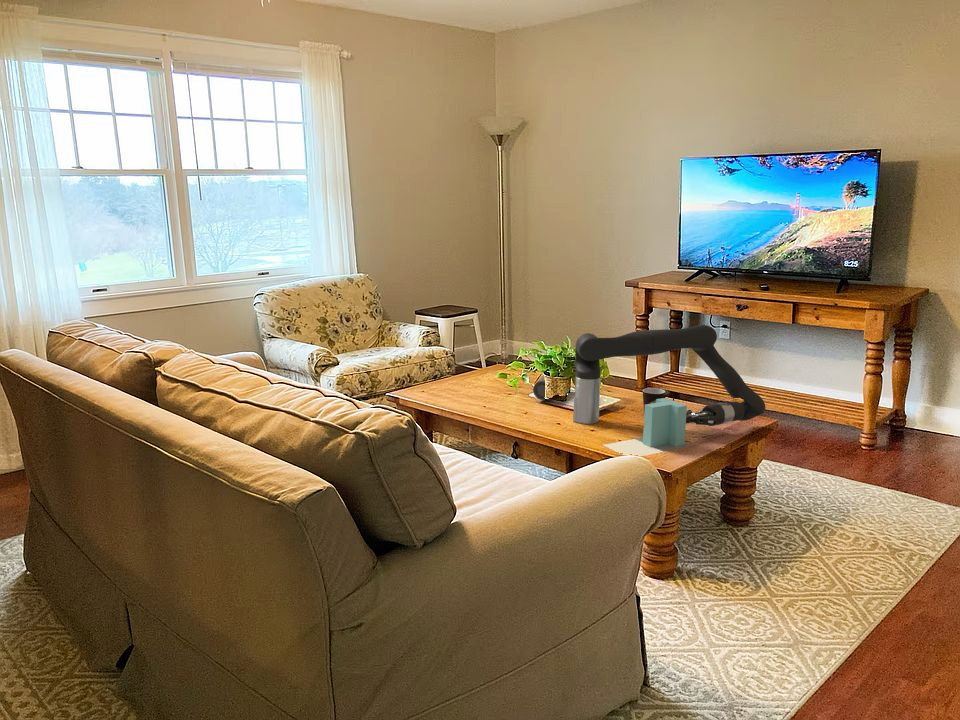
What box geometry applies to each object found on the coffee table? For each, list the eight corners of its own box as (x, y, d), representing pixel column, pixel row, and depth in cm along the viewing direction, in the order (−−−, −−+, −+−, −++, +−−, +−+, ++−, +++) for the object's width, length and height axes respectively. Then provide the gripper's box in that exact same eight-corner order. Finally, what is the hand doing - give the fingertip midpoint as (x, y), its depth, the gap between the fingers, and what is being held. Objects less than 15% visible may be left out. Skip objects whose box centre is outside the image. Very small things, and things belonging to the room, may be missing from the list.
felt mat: (660, 436, 282) (661, 433, 282) (690, 448, 269) (690, 446, 269) (602, 447, 270) (602, 444, 270) (630, 460, 257) (630, 458, 257)
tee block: (662, 435, 280) (665, 397, 277) (684, 444, 270) (686, 405, 267) (636, 440, 274) (638, 402, 271) (657, 450, 265) (659, 410, 262)
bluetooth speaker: (553, 404, 321) (553, 380, 319) (531, 402, 325) (532, 378, 323) (569, 391, 342) (569, 368, 340) (548, 388, 345) (549, 366, 343)
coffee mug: (638, 416, 305) (639, 392, 303) (644, 411, 312) (646, 386, 310) (668, 421, 300) (669, 395, 297) (674, 415, 307) (675, 390, 305)
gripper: (705, 399, 288) (669, 405, 280) (732, 408, 277) (695, 415, 269) (704, 419, 290) (667, 425, 282) (731, 429, 278) (694, 436, 270)
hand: (681, 420), depth 275 cm, fingers closed
